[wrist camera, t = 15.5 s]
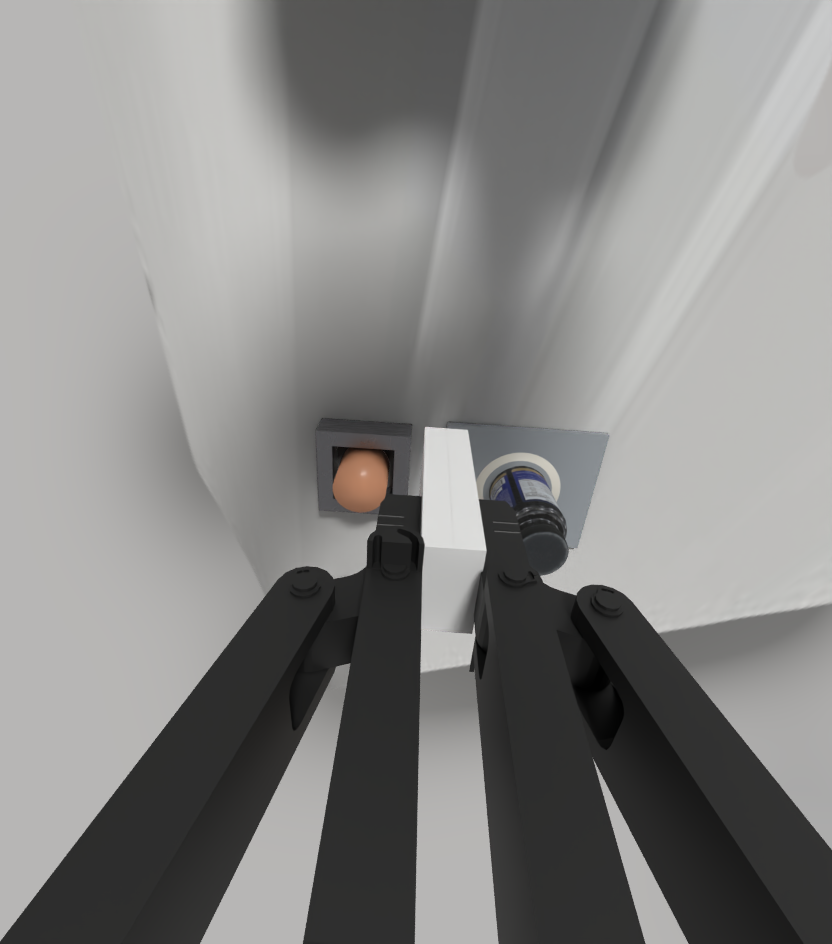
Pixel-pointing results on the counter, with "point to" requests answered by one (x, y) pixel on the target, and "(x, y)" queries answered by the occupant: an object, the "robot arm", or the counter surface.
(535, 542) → the pill bottle
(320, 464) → the button housing
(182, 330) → the counter surface
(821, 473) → the counter surface
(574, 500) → the board
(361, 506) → the button
